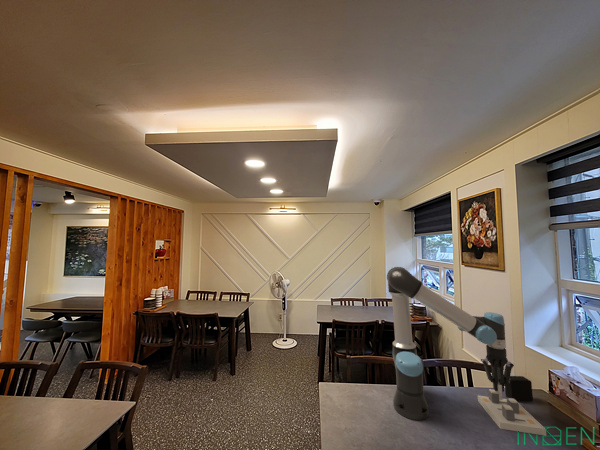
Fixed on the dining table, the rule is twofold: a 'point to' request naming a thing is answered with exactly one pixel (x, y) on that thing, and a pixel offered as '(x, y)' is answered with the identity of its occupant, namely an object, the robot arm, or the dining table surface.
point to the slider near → (508, 412)
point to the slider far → (493, 396)
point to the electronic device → (519, 389)
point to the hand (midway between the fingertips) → (499, 397)
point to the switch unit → (521, 423)
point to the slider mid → (513, 404)
